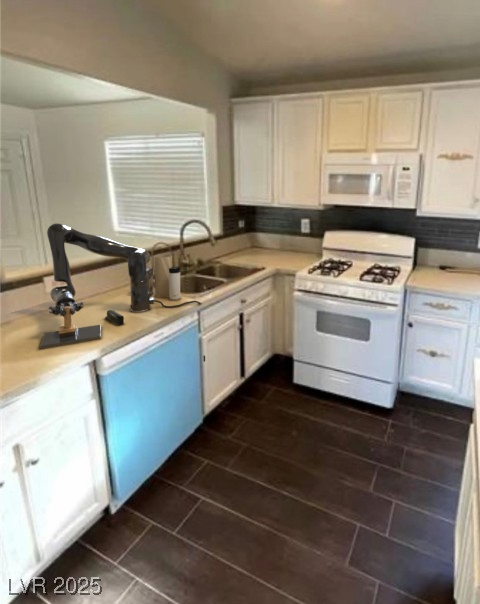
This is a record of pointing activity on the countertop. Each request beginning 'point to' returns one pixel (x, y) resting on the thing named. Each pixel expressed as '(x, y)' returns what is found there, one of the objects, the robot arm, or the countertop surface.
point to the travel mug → (174, 283)
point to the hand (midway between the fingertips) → (68, 313)
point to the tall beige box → (162, 274)
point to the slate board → (71, 337)
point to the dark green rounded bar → (115, 317)
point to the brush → (67, 324)
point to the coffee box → (150, 279)
